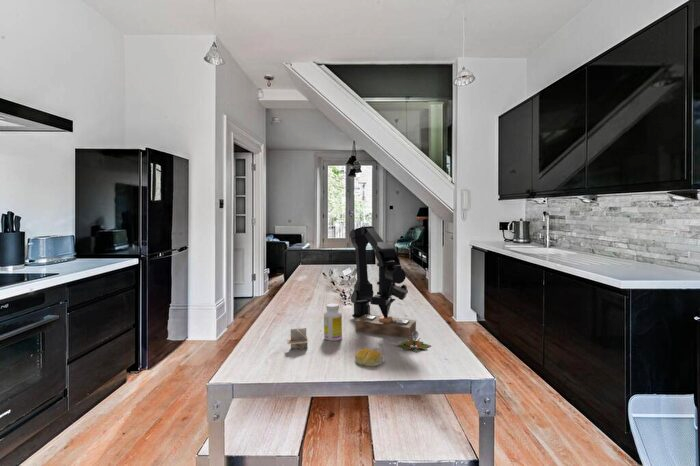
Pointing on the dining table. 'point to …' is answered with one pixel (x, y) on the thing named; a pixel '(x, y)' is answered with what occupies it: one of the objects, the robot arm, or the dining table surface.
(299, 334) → the architectural model
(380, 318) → the orange cube
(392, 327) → the console
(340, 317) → the supplement bottle
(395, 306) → the dining table surface
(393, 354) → the dining table surface
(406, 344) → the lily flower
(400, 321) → the grey block
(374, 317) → the grey cube
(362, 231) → the robot arm
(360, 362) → the bread roll
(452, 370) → the dining table surface
